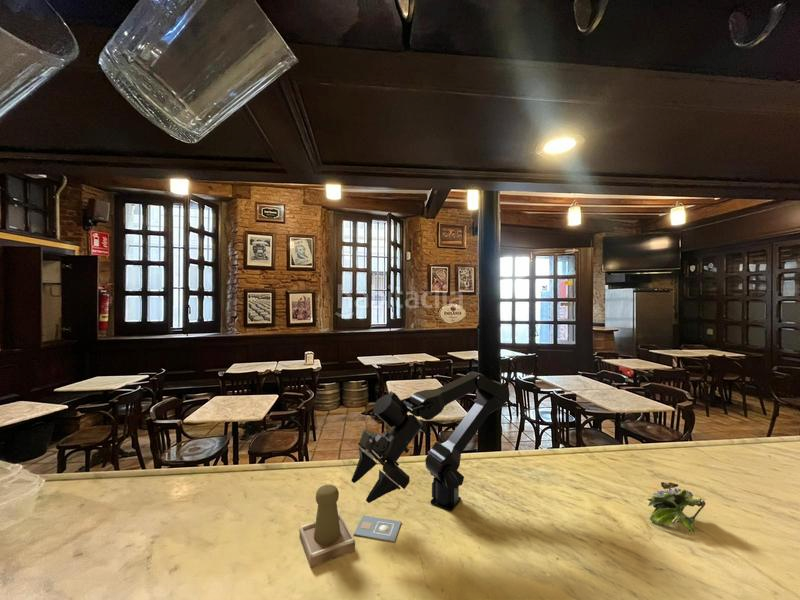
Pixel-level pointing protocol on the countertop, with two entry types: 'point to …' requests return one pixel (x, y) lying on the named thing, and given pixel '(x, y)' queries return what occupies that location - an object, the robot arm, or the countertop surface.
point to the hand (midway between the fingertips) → (359, 491)
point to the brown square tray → (326, 552)
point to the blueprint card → (378, 528)
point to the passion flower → (673, 506)
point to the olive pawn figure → (327, 515)
